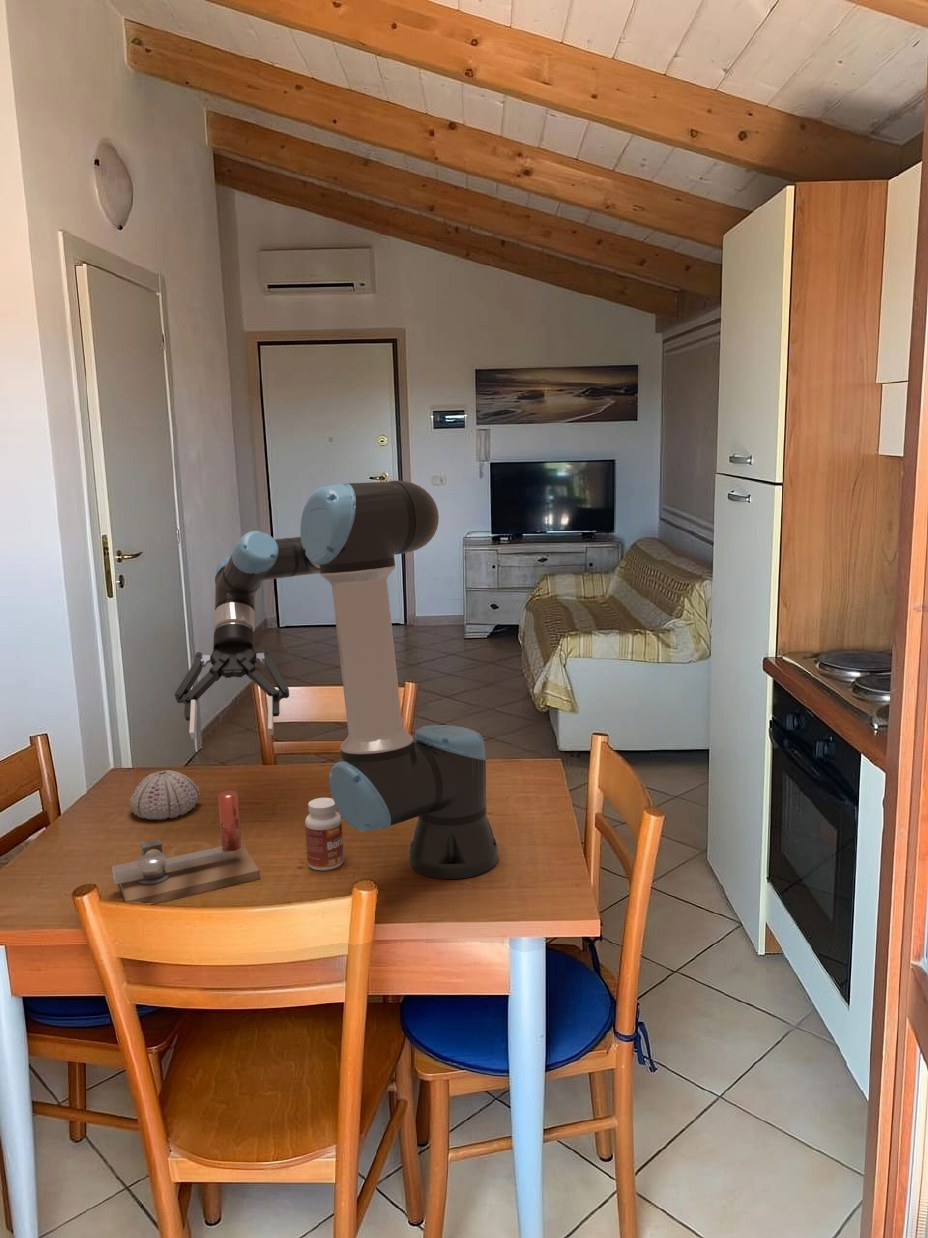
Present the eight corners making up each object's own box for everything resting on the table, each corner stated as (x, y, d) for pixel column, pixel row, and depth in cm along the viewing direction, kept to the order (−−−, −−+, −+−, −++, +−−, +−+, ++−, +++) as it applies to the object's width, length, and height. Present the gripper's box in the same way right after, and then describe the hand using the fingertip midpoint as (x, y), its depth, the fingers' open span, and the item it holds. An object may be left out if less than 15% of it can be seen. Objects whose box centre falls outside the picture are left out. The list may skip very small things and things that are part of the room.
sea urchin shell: (170, 828, 177) (166, 788, 176) (114, 819, 182) (110, 780, 181) (214, 803, 189) (211, 765, 188) (161, 794, 194) (158, 758, 193)
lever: (116, 886, 149) (109, 822, 147) (112, 875, 153) (105, 812, 151) (245, 857, 158) (240, 796, 156) (238, 848, 162) (234, 788, 160)
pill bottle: (332, 874, 157) (329, 811, 154) (300, 869, 159) (296, 807, 157) (350, 858, 162) (347, 798, 160) (319, 853, 164) (315, 793, 162)
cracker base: (127, 910, 146) (124, 883, 146) (116, 873, 159) (113, 848, 158) (260, 878, 156) (258, 853, 155) (239, 846, 168) (237, 822, 167)
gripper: (301, 639, 183) (303, 738, 172) (169, 644, 180) (163, 746, 169) (299, 619, 177) (301, 721, 166) (163, 624, 173) (155, 728, 162)
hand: (231, 734), depth 167 cm, fingers open, 13 cm apart
